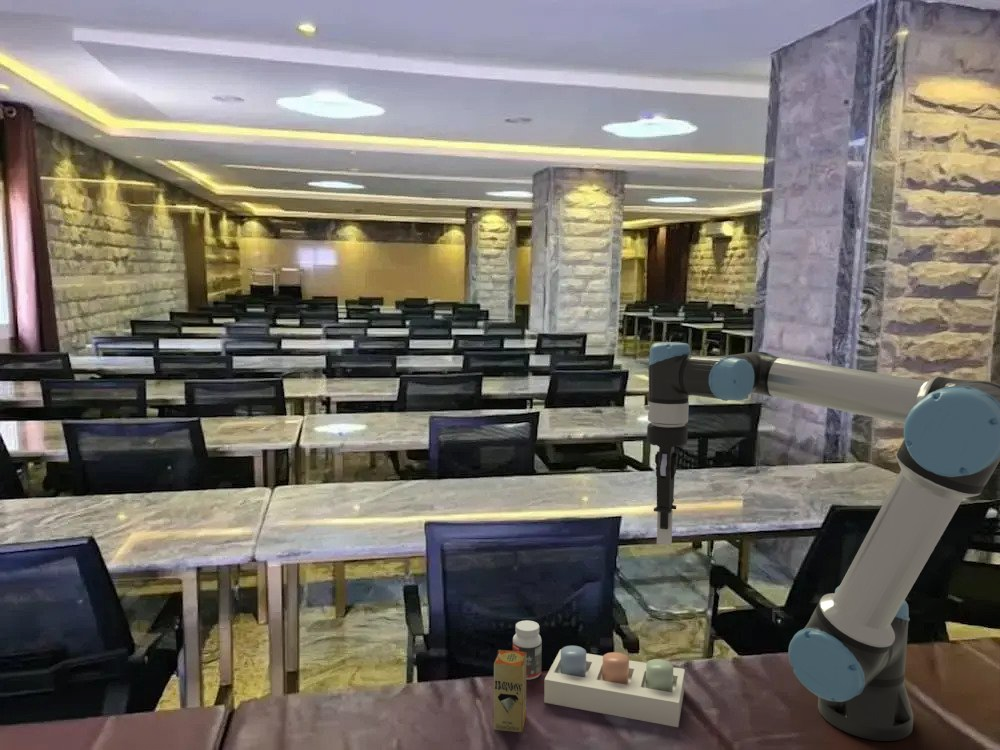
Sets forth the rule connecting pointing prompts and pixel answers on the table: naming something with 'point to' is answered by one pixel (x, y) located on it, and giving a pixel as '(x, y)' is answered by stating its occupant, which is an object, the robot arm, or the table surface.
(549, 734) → the table surface
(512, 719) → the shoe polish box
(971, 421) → the robot arm
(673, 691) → the panel
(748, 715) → the table surface
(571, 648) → the button slateblue
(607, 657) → the button terracotta
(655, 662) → the button sage
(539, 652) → the pill bottle
